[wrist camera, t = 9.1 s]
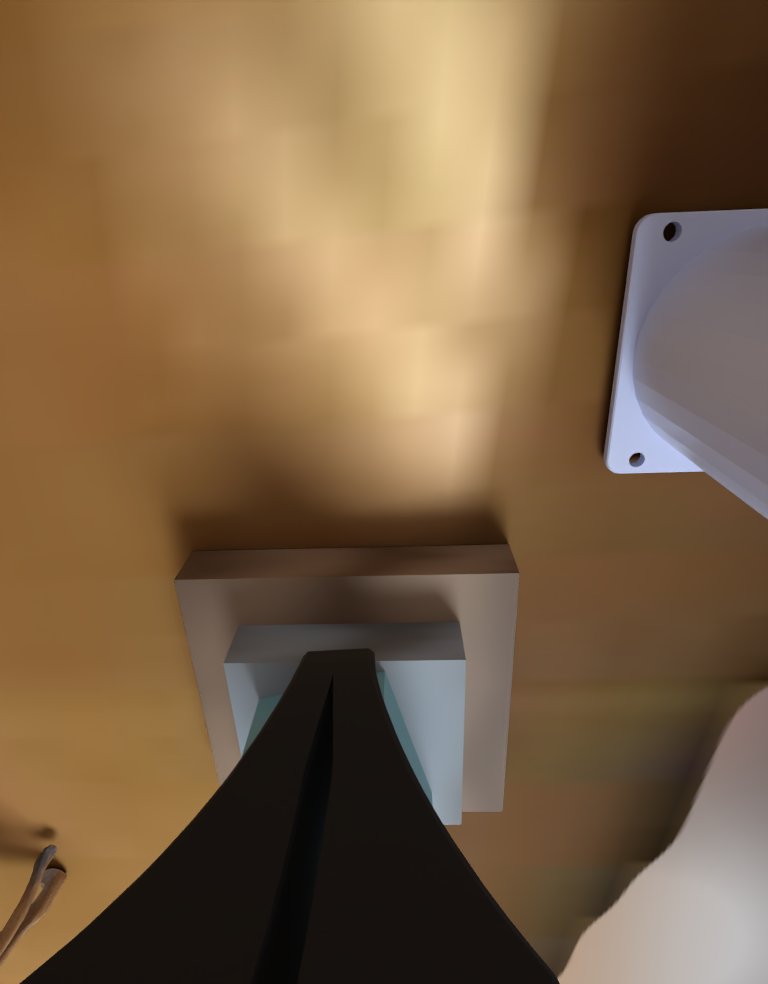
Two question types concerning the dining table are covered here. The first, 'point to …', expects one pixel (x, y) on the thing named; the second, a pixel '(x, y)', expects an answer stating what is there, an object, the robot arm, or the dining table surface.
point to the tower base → (363, 599)
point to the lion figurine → (27, 912)
